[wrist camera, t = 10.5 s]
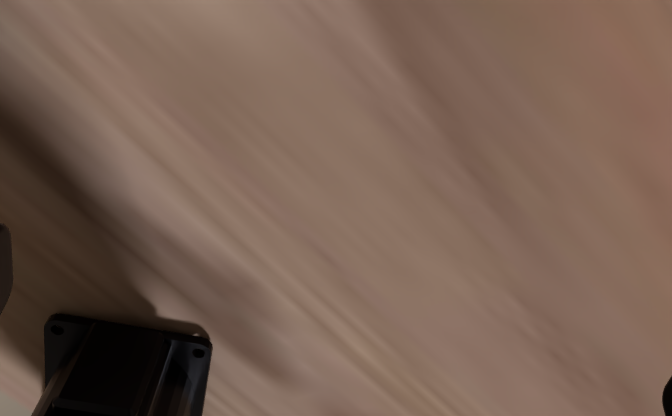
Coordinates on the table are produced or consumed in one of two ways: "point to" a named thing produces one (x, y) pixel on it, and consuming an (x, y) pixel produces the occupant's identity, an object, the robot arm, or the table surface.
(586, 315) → the table surface
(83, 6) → the table surface
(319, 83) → the table surface
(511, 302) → the table surface
